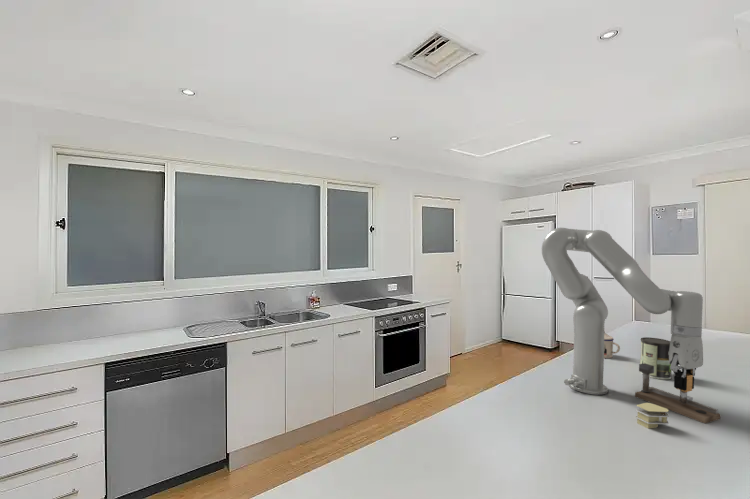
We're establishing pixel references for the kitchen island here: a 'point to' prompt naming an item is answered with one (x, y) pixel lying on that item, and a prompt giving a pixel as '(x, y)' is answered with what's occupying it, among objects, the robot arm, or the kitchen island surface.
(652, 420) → the stacked layers on plate
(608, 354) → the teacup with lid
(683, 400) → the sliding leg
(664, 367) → the coffee can
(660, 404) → the brown wooden stand
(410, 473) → the kitchen island surface
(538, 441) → the kitchen island surface
